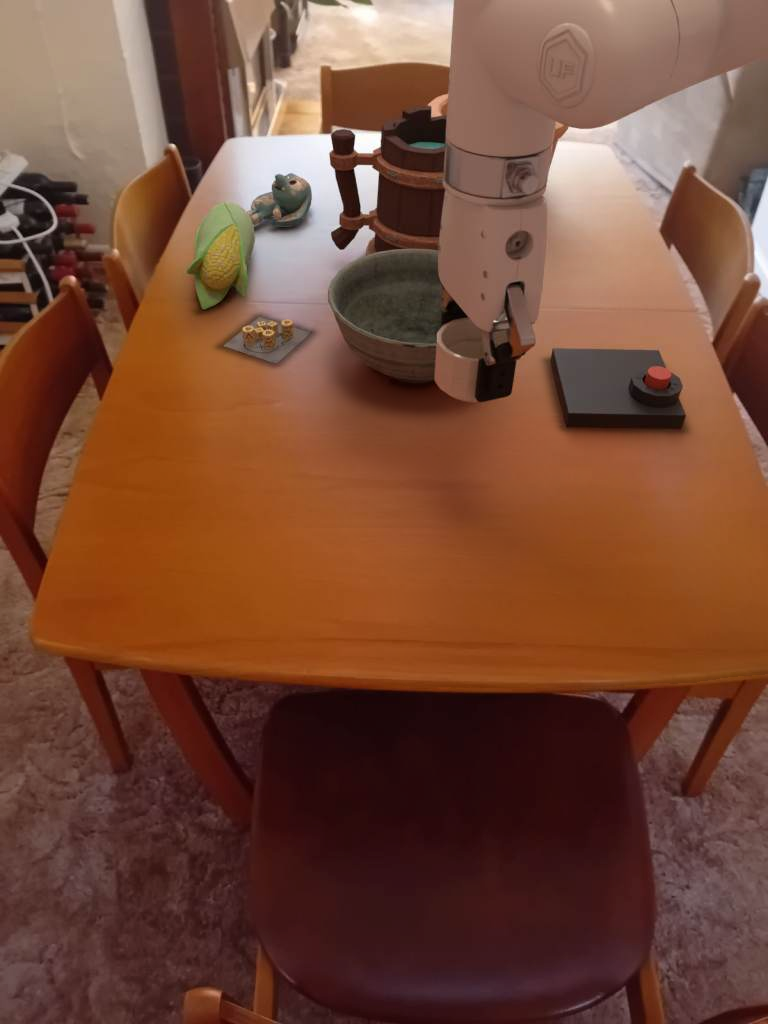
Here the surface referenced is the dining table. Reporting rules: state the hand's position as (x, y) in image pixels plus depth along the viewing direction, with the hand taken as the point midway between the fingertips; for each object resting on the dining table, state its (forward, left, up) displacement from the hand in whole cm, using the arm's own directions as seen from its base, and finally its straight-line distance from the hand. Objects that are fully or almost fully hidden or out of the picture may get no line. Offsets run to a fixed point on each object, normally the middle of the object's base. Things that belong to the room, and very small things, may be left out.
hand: (473, 371), depth 69 cm
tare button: (-27, -8, -12) cm, 31 cm away
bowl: (-4, -24, -16) cm, 29 cm away
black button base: (-24, -11, -16) cm, 31 cm away
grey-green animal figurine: (+2, -69, -16) cm, 71 cm away
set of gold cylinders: (+12, -35, -16) cm, 40 cm away
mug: (-12, -47, -16) cm, 51 cm away
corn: (+13, -53, -16) cm, 57 cm away
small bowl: (0, 0, -1) cm, 1 cm away
